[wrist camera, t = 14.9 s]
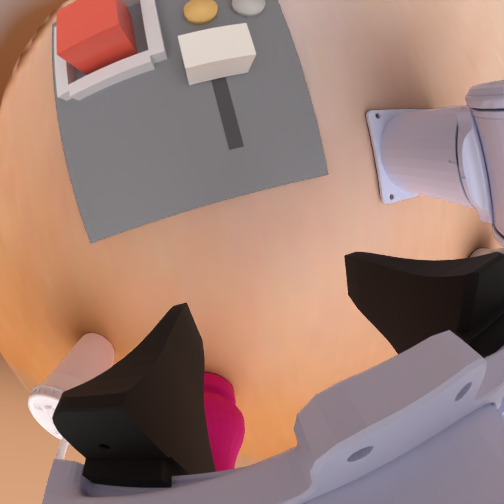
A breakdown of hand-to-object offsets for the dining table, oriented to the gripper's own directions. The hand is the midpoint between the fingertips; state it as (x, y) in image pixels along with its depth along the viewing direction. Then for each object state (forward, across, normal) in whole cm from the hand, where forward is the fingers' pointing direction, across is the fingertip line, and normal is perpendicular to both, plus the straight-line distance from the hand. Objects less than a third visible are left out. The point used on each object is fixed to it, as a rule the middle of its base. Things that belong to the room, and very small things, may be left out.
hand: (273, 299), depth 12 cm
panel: (+9, +2, -14) cm, 17 cm away
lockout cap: (+8, +6, -18) cm, 20 cm away
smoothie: (+10, +16, +6) cm, 20 cm away
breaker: (+8, -1, -13) cm, 15 cm away
